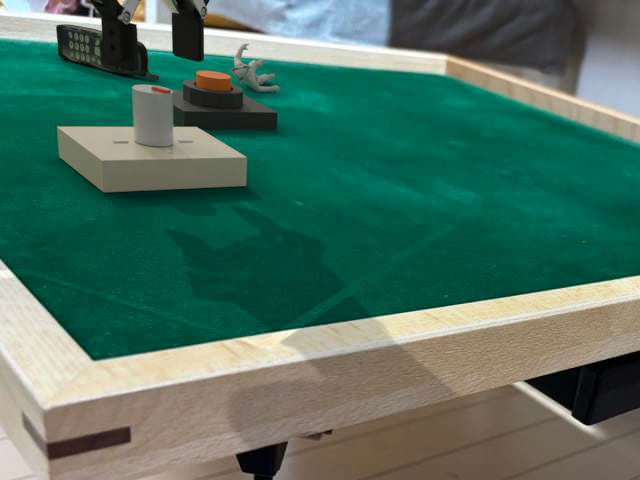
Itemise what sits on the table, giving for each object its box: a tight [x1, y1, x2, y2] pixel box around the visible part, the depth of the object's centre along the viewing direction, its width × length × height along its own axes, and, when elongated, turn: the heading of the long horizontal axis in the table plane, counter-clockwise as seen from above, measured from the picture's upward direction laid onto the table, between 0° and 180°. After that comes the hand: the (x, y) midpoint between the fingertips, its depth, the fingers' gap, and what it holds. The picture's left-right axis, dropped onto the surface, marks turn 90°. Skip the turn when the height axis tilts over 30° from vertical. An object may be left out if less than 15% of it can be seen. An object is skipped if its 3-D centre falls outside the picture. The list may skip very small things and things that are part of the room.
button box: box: [171, 78, 279, 131], centre depth 109 cm, size 12×10×4 cm
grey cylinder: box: [131, 84, 174, 147], centre depth 85 cm, size 4×4×5 cm
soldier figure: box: [229, 43, 281, 93], centre depth 129 cm, size 8×5×12 cm
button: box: [195, 70, 232, 91], centre depth 108 cm, size 4×4×2 cm
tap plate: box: [56, 126, 248, 194], centre depth 87 cm, size 14×11×3 cm
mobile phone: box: [55, 23, 160, 81], centre depth 121 cm, size 5×3×15 cm
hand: (156, 63), depth 83 cm, fingers open, 9 cm apart
